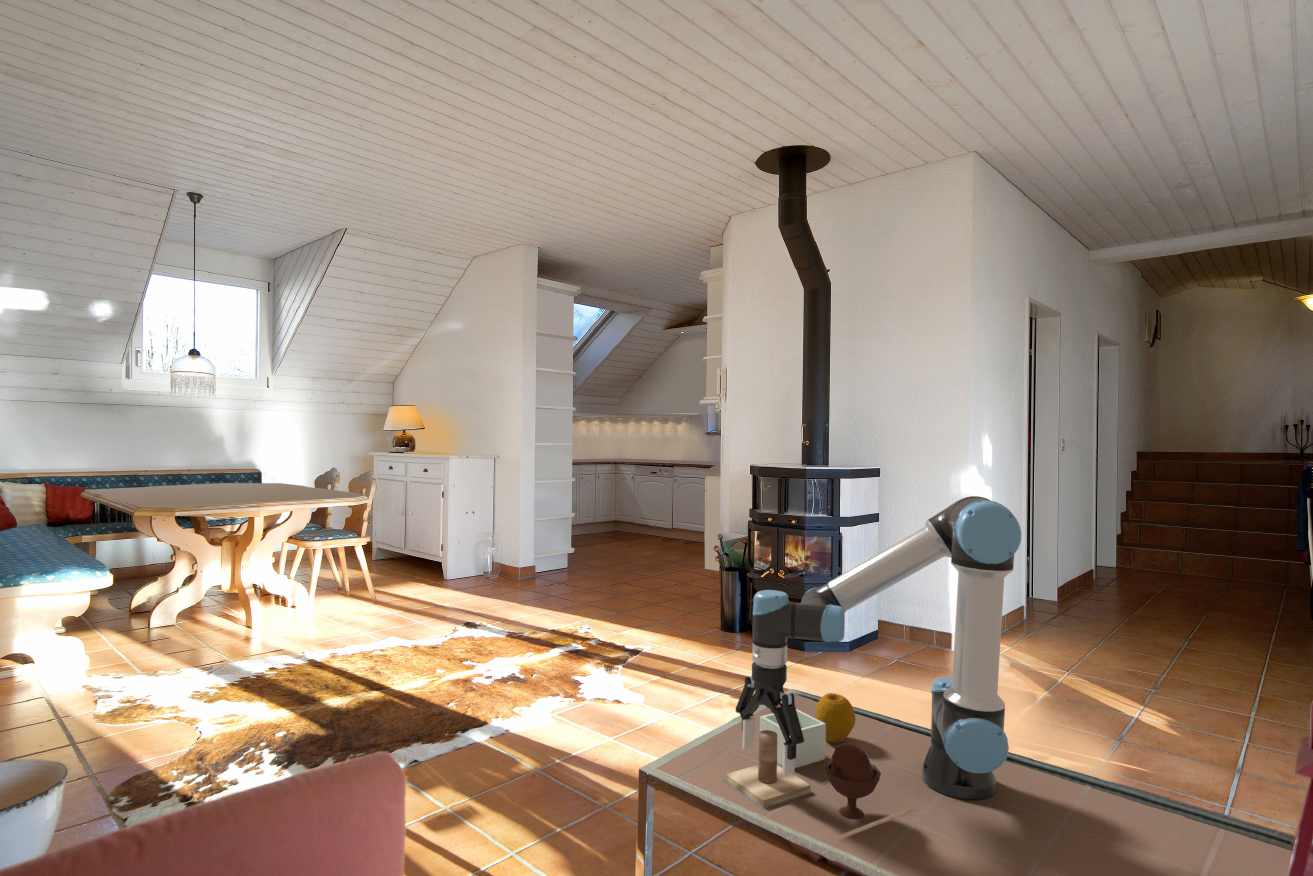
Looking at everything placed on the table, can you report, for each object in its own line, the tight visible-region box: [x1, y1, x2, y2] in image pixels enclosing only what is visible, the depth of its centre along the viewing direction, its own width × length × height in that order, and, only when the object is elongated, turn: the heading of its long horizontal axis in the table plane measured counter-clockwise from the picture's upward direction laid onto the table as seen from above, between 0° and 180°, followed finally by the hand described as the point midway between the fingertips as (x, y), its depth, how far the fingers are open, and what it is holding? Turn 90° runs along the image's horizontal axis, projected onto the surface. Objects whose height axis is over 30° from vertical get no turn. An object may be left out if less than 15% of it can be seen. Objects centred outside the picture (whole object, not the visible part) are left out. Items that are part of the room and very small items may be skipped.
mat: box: [722, 779, 815, 810], centre depth 160 cm, size 14×14×1 cm
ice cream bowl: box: [824, 742, 882, 821], centre depth 149 cm, size 11×11×15 cm
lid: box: [725, 730, 811, 808], centre depth 160 cm, size 13×13×12 cm
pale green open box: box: [759, 708, 827, 769], centre depth 175 cm, size 11×11×9 cm
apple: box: [815, 692, 856, 744], centre depth 185 cm, size 10×10×12 cm
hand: (767, 760), depth 160 cm, fingers open, 13 cm apart
